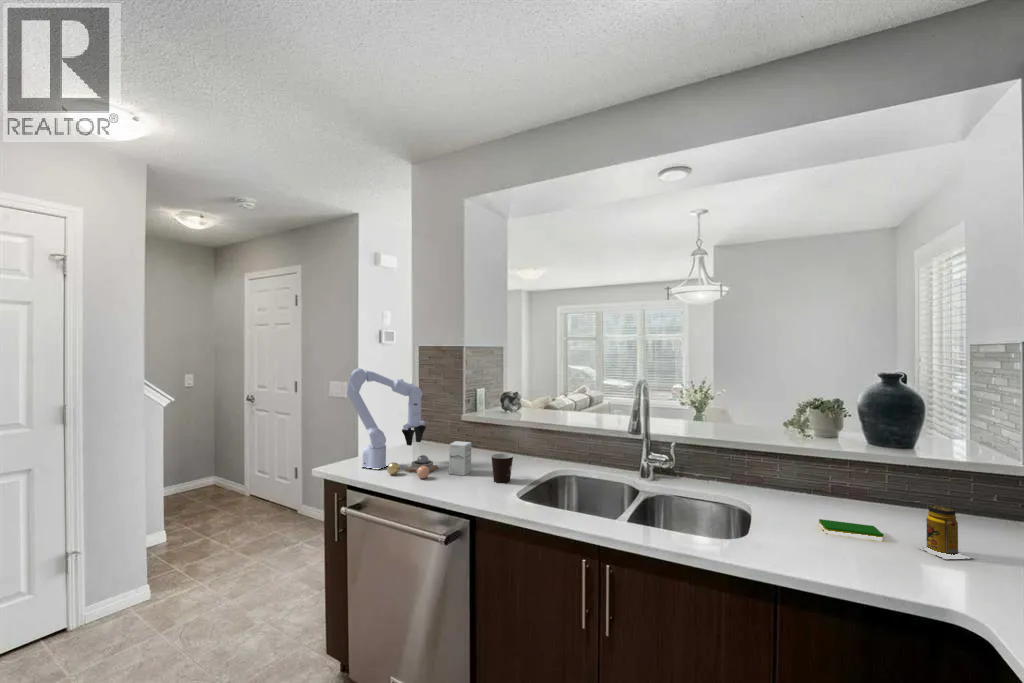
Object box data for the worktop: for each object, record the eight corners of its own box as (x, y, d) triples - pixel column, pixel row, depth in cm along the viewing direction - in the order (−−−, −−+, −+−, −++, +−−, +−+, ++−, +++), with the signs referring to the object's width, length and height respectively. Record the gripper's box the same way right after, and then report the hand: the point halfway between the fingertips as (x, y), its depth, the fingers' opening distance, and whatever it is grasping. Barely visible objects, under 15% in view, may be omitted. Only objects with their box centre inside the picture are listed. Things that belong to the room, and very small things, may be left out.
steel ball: (414, 466, 193) (415, 454, 194) (420, 465, 198) (421, 454, 198) (424, 468, 191) (425, 456, 192) (430, 467, 196) (431, 455, 197)
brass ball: (384, 475, 185) (384, 463, 185) (391, 472, 190) (391, 460, 190) (394, 476, 183) (395, 464, 183) (401, 473, 188) (402, 461, 188)
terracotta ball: (414, 479, 180) (414, 466, 180) (420, 476, 185) (421, 463, 185) (425, 480, 179) (425, 468, 179) (431, 477, 183) (431, 465, 183)
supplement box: (448, 474, 188) (448, 443, 188) (455, 470, 195) (456, 440, 196) (464, 476, 186) (465, 445, 186) (471, 471, 193) (471, 441, 193)
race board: (405, 471, 192) (405, 463, 192) (418, 465, 201) (418, 458, 201) (426, 474, 188) (426, 466, 188) (438, 468, 198) (438, 460, 198)
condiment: (917, 548, 123) (917, 503, 123) (945, 547, 123) (945, 503, 124) (945, 561, 115) (945, 513, 116) (975, 560, 116) (975, 512, 116)
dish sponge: (818, 526, 138) (818, 518, 138) (874, 533, 133) (874, 525, 133) (825, 535, 132) (825, 527, 132) (883, 543, 127) (883, 534, 127)
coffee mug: (503, 485, 173) (504, 459, 174) (486, 481, 179) (486, 456, 179) (521, 479, 183) (521, 454, 183) (504, 475, 188) (505, 451, 188)
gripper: (413, 415, 195) (412, 447, 195) (430, 411, 209) (430, 441, 209) (399, 414, 198) (398, 446, 197) (417, 410, 211) (416, 440, 211)
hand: (413, 443), depth 203 cm, fingers open, 7 cm apart
